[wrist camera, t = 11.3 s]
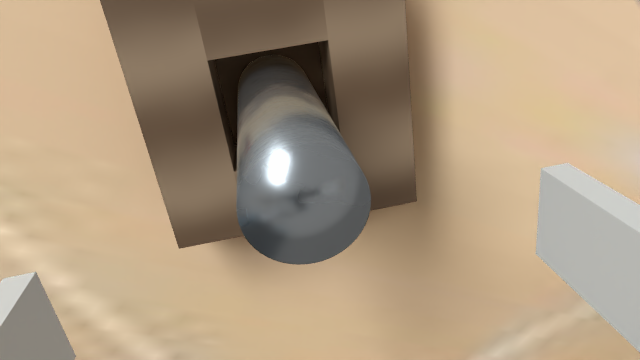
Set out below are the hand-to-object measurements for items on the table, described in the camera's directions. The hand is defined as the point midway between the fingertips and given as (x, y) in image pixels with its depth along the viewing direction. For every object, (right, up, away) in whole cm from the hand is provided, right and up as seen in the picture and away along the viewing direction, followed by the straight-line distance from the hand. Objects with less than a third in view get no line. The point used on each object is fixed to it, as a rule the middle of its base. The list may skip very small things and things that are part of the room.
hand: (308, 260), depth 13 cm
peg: (-2, +7, +16) cm, 18 cm away
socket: (-2, +7, +16) cm, 18 cm away
